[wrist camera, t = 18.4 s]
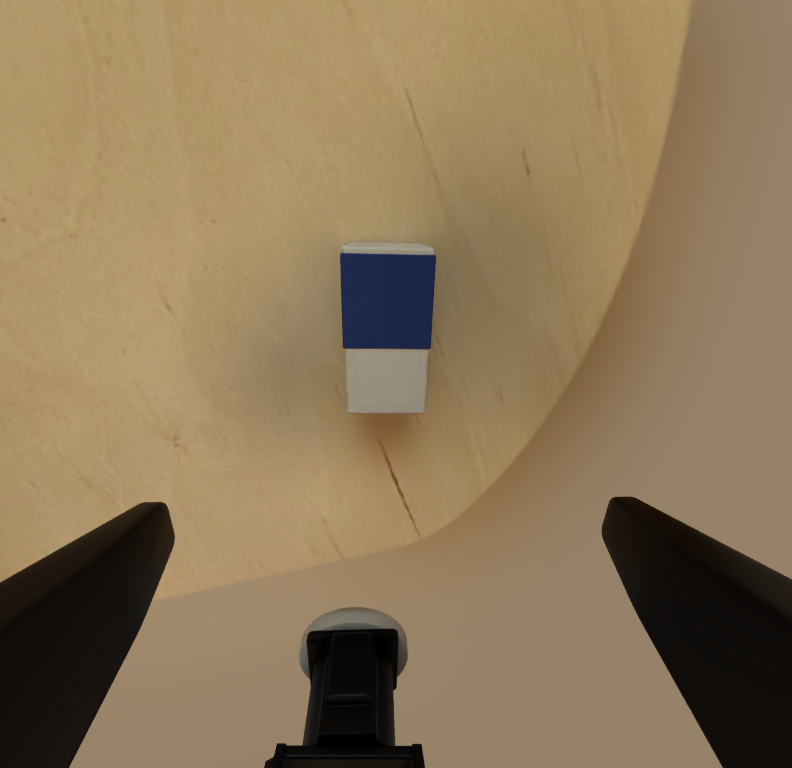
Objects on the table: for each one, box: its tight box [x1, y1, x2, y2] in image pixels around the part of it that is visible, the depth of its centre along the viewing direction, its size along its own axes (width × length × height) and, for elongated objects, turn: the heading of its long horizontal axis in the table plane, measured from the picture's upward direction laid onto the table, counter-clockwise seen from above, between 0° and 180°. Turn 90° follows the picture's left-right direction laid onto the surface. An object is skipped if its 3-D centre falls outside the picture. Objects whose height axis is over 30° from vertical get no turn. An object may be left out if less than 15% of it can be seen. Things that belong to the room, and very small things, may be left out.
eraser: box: [340, 242, 436, 414], centre depth 15 cm, size 6×3×4 cm, turn 179°
